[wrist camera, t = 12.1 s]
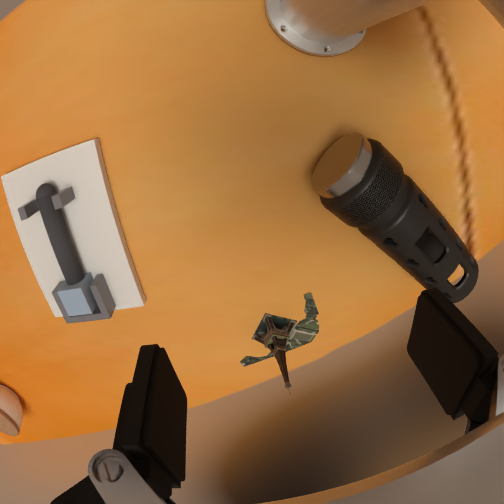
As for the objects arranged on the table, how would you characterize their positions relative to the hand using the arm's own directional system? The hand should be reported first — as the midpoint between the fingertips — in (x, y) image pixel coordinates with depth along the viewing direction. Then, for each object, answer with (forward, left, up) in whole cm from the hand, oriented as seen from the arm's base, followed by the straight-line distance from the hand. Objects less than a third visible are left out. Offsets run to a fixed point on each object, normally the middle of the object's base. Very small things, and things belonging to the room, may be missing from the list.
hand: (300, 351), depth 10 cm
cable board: (+3, -24, -28) cm, 37 cm away
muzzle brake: (+8, +20, -29) cm, 36 cm away
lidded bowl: (+37, -65, -28) cm, 80 cm away
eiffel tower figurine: (+24, +1, -29) cm, 38 cm away
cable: (+3, -24, -27) cm, 36 cm away
